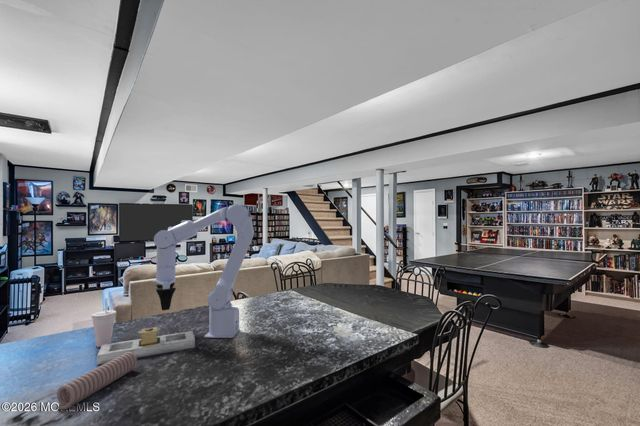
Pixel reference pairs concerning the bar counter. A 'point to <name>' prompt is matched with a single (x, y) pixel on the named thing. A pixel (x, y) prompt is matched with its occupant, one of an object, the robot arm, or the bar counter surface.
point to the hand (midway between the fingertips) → (165, 307)
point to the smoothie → (103, 325)
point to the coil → (95, 380)
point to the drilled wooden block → (149, 336)
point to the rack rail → (163, 345)
